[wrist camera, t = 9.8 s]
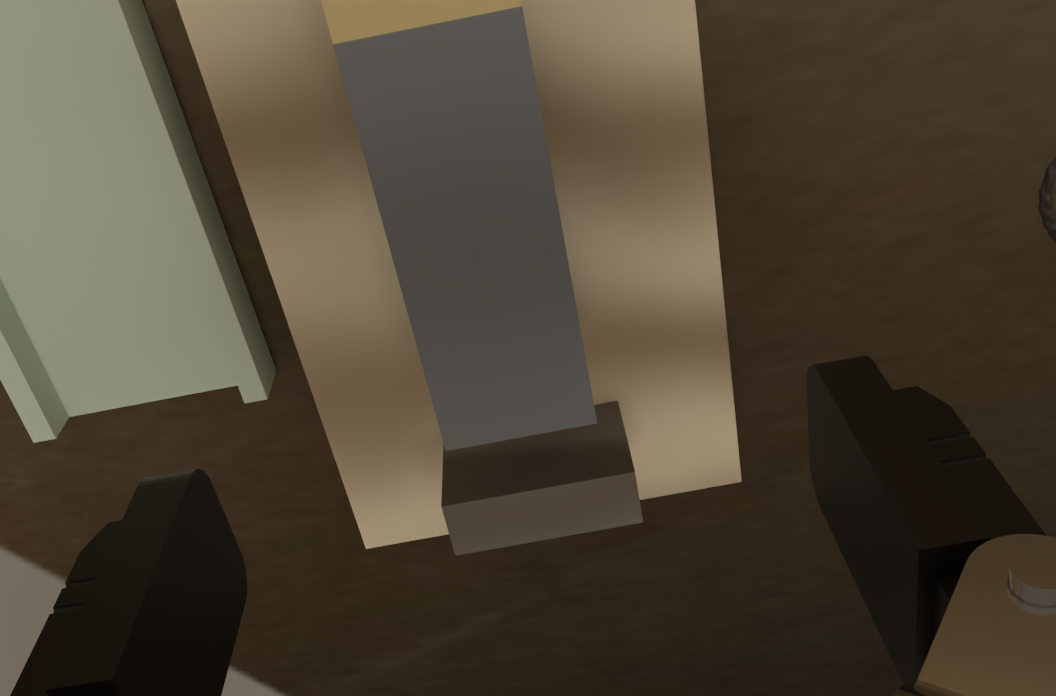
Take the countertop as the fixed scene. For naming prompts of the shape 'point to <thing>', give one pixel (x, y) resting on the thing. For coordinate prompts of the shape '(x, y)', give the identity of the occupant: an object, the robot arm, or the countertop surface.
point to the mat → (108, 226)
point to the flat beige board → (592, 250)
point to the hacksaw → (1048, 200)
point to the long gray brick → (468, 210)
